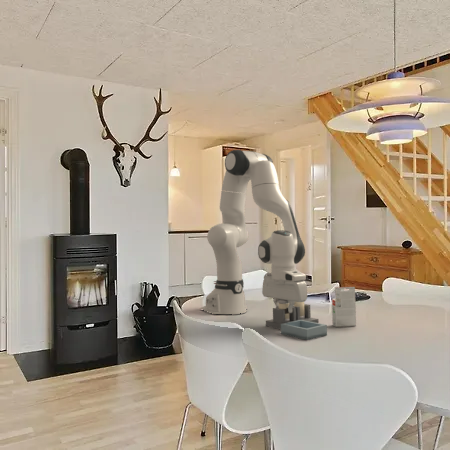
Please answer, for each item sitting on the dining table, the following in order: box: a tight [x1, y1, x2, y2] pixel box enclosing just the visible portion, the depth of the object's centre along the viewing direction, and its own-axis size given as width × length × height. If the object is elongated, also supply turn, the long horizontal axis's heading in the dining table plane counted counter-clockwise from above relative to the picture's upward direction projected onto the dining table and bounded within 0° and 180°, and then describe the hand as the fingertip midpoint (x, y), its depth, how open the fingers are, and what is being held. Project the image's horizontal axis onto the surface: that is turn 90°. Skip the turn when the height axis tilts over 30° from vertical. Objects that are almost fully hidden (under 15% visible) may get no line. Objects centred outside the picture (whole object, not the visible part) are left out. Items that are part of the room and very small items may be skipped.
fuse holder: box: [265, 303, 319, 330], centre depth 174 cm, size 12×16×7 cm
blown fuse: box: [278, 299, 290, 322], centre depth 171 cm, size 4×4×8 cm
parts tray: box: [280, 320, 328, 341], centre depth 159 cm, size 12×10×4 cm
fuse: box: [294, 301, 305, 319], centre depth 176 cm, size 4×4×8 cm
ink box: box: [331, 286, 357, 328], centre depth 171 cm, size 4×8×15 cm, turn 96°
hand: (284, 311), depth 171 cm, fingers closed on blown fuse, 4 cm apart
